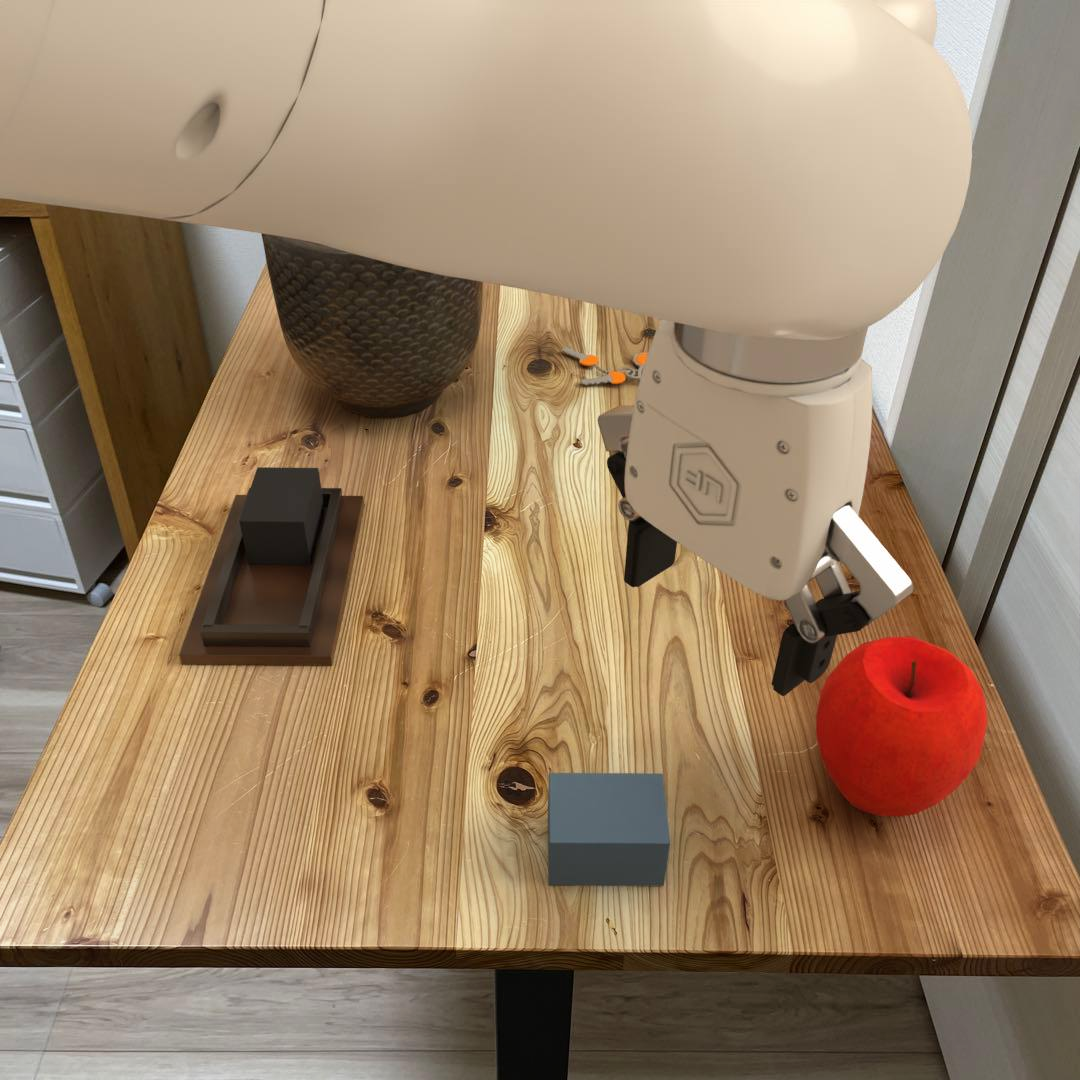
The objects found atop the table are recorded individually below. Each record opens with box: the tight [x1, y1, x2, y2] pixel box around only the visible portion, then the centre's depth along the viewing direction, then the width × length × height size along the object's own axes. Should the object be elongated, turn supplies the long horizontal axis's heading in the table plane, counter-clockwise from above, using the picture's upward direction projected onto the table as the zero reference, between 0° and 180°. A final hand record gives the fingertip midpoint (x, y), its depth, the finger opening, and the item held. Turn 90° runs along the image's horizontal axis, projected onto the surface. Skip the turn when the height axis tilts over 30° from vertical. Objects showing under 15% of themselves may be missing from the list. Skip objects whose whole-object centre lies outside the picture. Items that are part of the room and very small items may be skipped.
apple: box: [815, 636, 989, 818], centre depth 66 cm, size 10×10×12 cm
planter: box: [260, 233, 484, 419], centre depth 101 cm, size 20×20×19 cm
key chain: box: [560, 346, 649, 386], centre depth 109 cm, size 13×7×1 cm, turn 83°
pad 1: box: [239, 466, 325, 565], centre depth 86 cm, size 7×5×4 cm
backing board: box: [178, 486, 366, 666], centre depth 84 cm, size 19×11×2 cm, turn 0°
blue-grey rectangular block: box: [547, 772, 671, 887], centre depth 65 cm, size 7×5×4 cm
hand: (719, 623), depth 53 cm, fingers open, 9 cm apart
